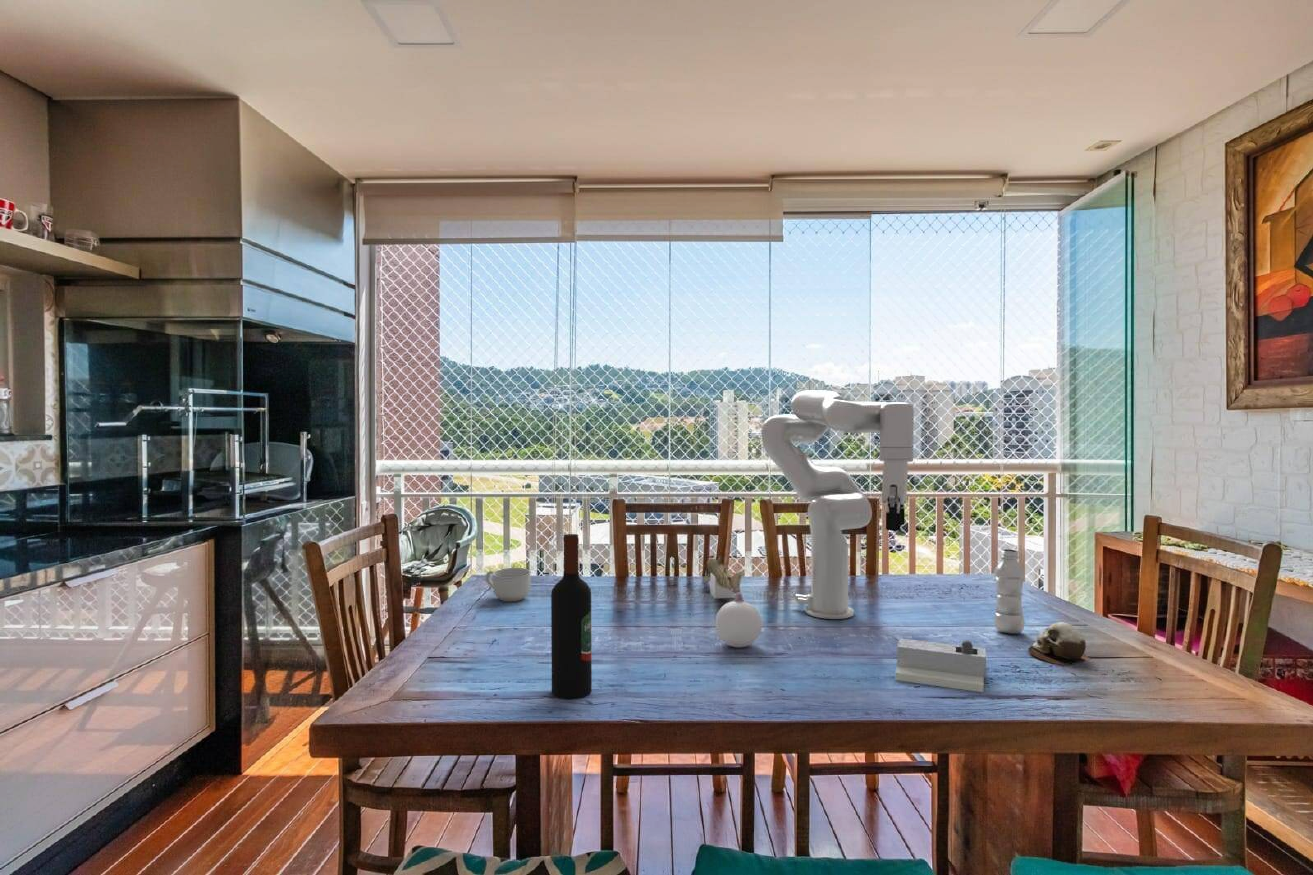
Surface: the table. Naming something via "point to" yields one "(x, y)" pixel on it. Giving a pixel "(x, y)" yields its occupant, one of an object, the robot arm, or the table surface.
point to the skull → (1060, 645)
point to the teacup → (510, 583)
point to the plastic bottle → (1009, 593)
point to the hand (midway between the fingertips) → (895, 527)
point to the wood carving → (722, 580)
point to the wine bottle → (571, 629)
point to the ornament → (738, 623)
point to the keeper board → (942, 676)
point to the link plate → (941, 658)
